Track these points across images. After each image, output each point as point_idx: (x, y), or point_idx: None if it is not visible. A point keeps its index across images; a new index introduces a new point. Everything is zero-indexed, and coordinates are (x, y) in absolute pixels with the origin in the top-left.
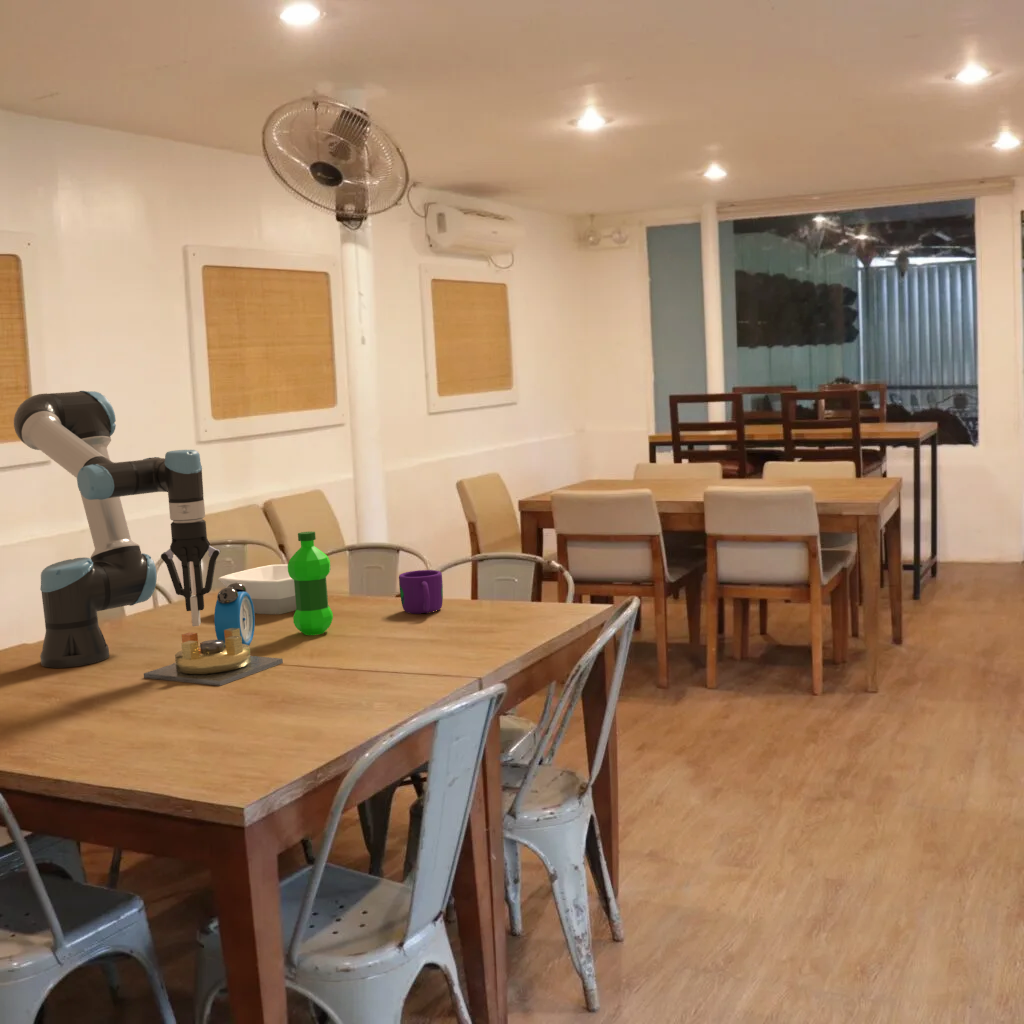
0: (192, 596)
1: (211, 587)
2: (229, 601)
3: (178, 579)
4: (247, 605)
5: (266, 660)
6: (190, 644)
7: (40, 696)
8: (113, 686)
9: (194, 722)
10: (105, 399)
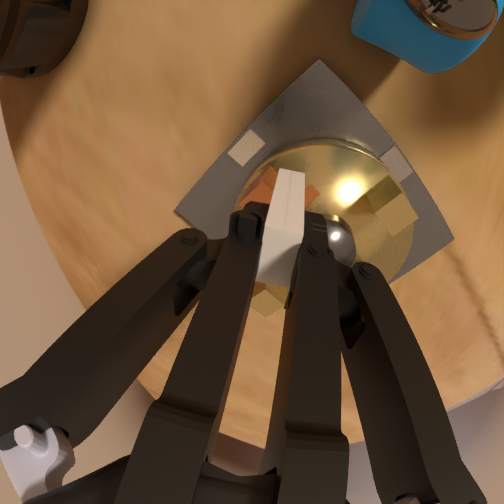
0: (268, 261)
1: (384, 281)
2: (450, 37)
3: (160, 319)
4: None
5: (428, 237)
6: (267, 314)
7: (68, 241)
8: (140, 238)
9: (271, 400)
10: None
